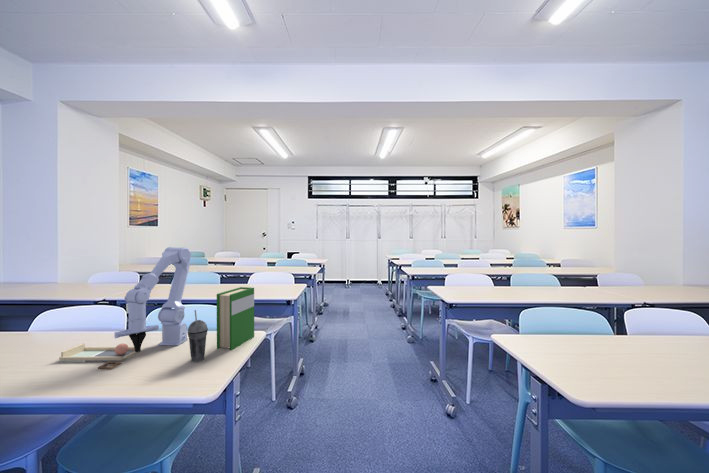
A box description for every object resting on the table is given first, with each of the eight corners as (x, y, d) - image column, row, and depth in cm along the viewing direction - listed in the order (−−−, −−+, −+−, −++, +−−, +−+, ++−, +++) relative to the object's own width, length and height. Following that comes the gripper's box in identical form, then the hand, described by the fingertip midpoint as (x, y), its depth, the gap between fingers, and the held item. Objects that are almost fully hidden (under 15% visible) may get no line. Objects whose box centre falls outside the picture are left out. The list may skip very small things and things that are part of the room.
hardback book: (231, 350, 128) (231, 294, 128) (216, 348, 130) (216, 293, 130) (254, 336, 146) (254, 287, 146) (240, 335, 147) (240, 287, 147)
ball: (131, 353, 124) (131, 342, 124) (119, 357, 119) (119, 346, 119) (123, 352, 125) (123, 341, 125) (111, 356, 121) (112, 344, 121)
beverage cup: (212, 357, 121) (212, 308, 121) (197, 364, 114) (197, 312, 114) (198, 354, 123) (198, 306, 123) (182, 361, 117) (182, 310, 116)
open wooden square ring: (121, 363, 115) (121, 361, 115) (111, 369, 110) (111, 367, 110) (108, 363, 115) (108, 361, 115) (97, 369, 110) (97, 367, 110)
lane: (140, 351, 128) (140, 342, 128) (120, 361, 117) (120, 352, 117) (84, 351, 127) (84, 342, 127) (59, 362, 116) (59, 352, 116)
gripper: (156, 313, 130) (156, 344, 130) (113, 319, 120) (113, 353, 120) (159, 316, 125) (159, 348, 125) (115, 323, 115) (115, 358, 115)
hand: (137, 351), depth 122 cm, fingers closed
